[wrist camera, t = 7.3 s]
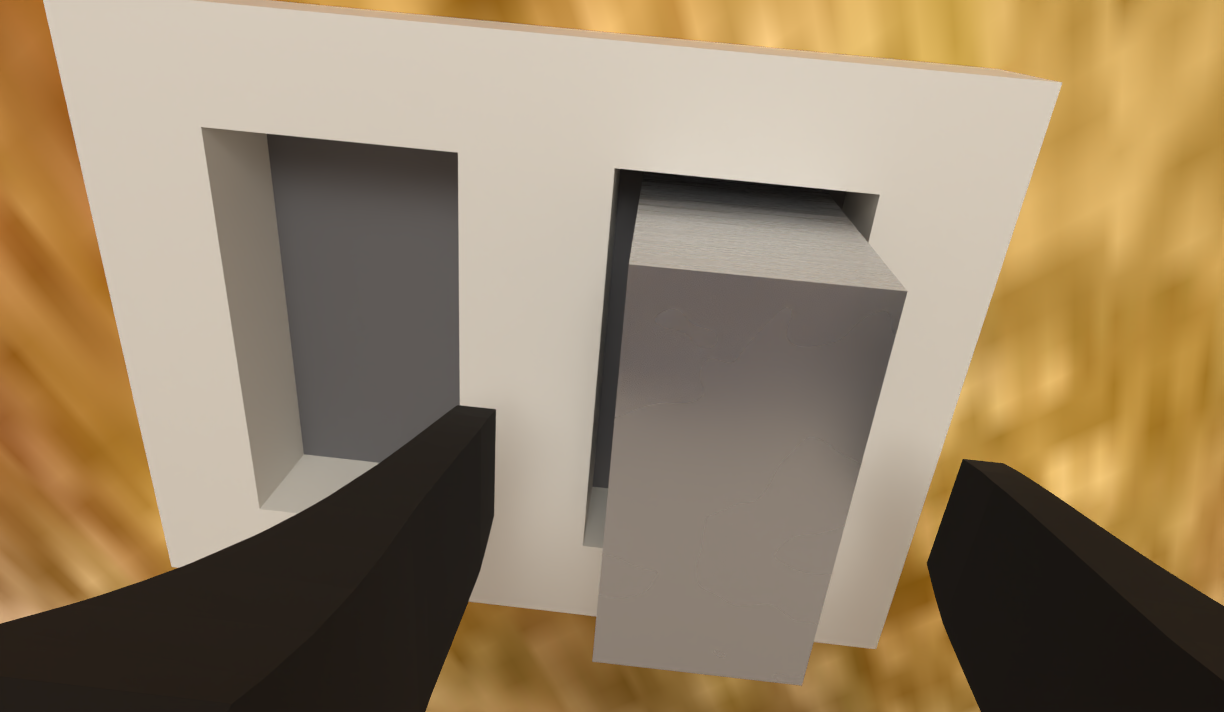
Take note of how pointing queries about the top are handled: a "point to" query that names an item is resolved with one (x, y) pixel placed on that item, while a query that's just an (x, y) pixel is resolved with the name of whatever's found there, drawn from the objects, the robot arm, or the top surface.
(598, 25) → the top surface
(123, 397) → the top surface
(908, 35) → the top surface
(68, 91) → the light grey flat piece
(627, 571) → the tall grey block
